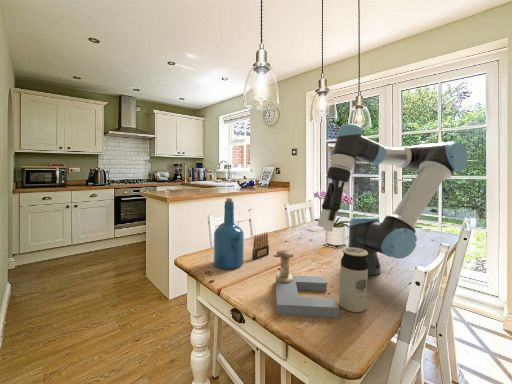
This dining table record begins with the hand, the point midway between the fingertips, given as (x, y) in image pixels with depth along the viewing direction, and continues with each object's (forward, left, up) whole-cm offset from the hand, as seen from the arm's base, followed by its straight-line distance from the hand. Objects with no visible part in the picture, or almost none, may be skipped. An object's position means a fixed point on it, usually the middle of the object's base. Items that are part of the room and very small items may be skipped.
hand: (323, 228), depth 88 cm
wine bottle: (+37, -23, -23) cm, 49 cm away
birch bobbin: (+13, -3, -20) cm, 24 cm away
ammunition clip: (+23, -35, -23) cm, 48 cm away
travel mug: (-8, +8, -23) cm, 26 cm away
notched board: (+7, +4, -23) cm, 24 cm away
